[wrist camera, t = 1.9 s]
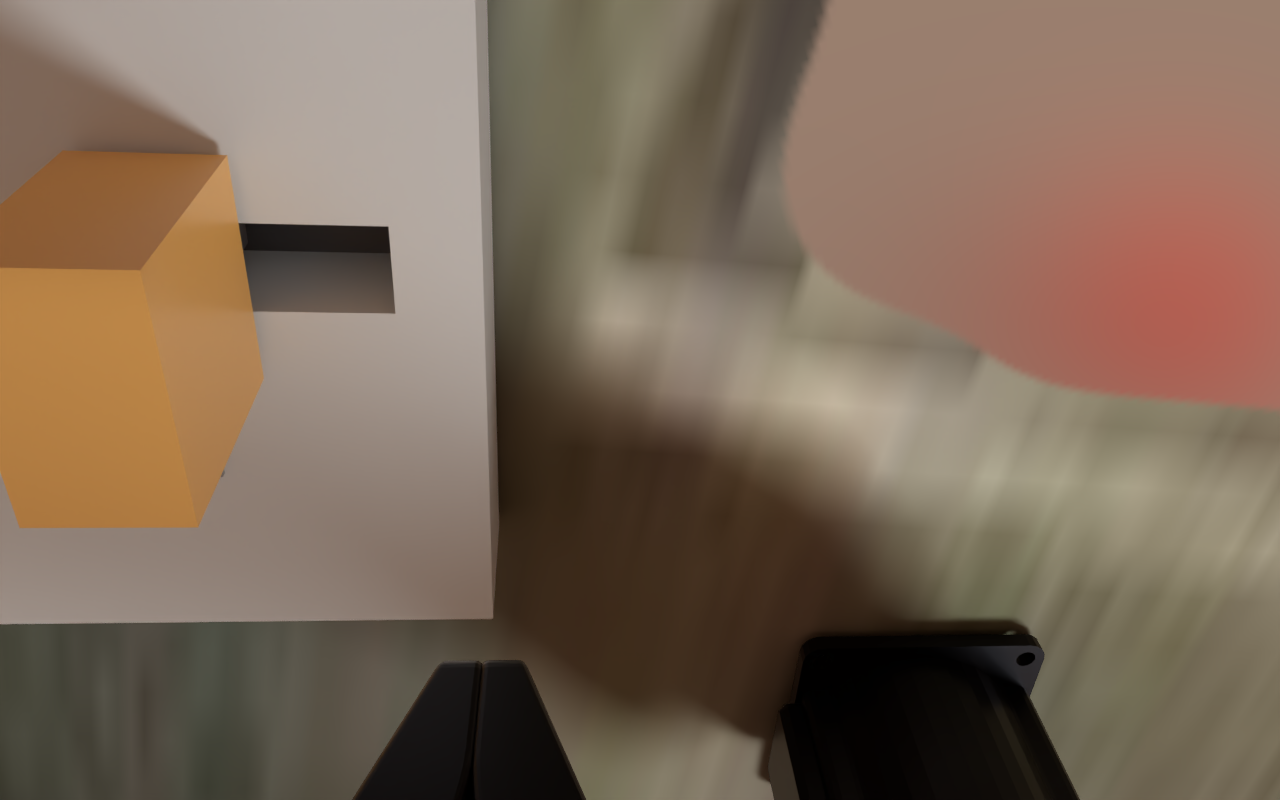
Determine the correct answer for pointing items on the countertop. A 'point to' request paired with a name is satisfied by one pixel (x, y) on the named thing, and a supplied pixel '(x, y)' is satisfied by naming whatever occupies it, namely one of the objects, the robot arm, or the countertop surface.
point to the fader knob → (122, 339)
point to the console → (296, 300)
